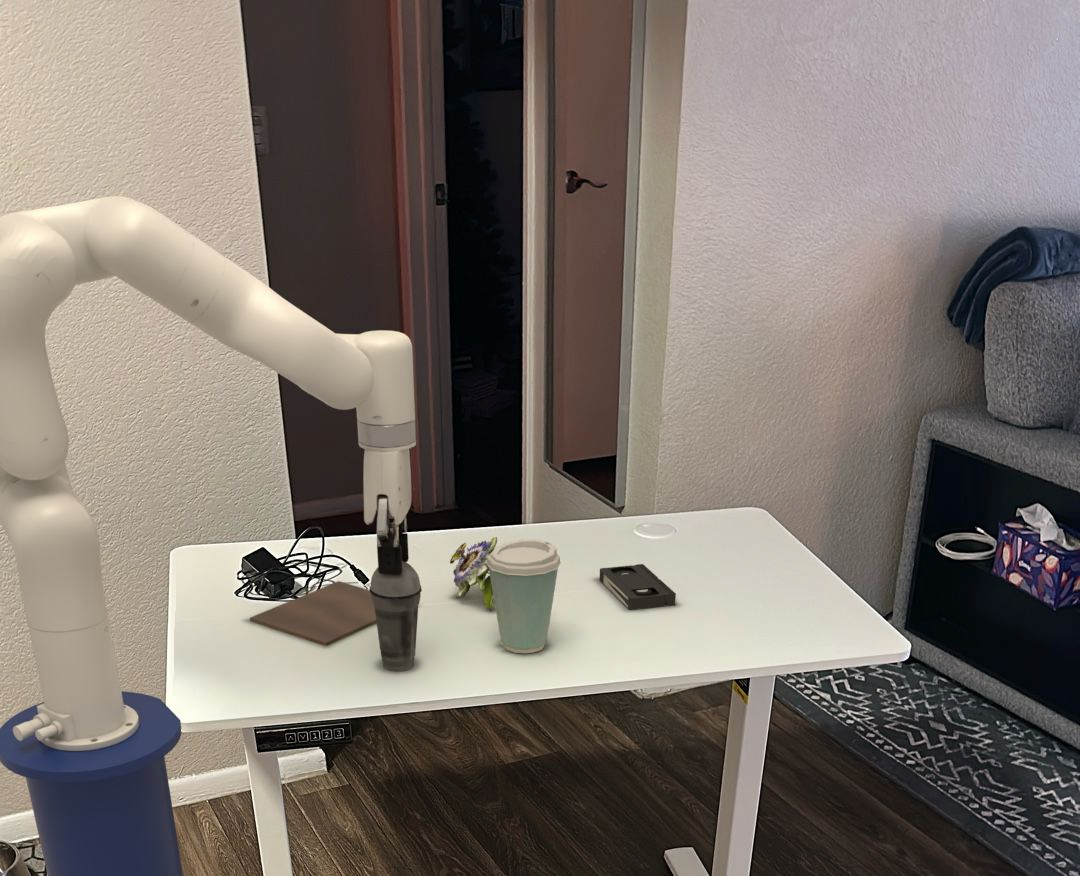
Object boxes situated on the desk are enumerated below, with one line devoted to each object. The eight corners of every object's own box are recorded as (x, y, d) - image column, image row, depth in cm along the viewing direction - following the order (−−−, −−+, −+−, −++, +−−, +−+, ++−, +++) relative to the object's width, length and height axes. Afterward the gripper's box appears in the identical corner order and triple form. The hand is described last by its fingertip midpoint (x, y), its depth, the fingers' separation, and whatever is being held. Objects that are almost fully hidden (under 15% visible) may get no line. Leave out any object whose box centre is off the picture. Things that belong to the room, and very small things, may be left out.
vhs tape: (598, 579, 215) (599, 568, 214) (642, 575, 217) (642, 563, 216) (629, 610, 204) (629, 598, 203) (674, 605, 206) (675, 593, 205)
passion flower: (462, 628, 210) (439, 559, 210) (524, 610, 212) (501, 541, 212) (470, 613, 199) (446, 540, 199) (535, 594, 201) (511, 521, 201)
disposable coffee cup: (512, 665, 185) (513, 565, 177) (473, 640, 192) (472, 543, 184) (572, 649, 190) (575, 552, 182) (531, 626, 197) (533, 531, 190)
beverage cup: (377, 677, 180) (371, 540, 170) (368, 656, 186) (362, 523, 176) (428, 672, 182) (425, 537, 172) (418, 652, 188) (414, 519, 177)
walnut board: (326, 646, 190) (325, 642, 189) (249, 620, 197) (249, 617, 197) (413, 606, 204) (412, 603, 203) (338, 583, 211) (338, 581, 211)
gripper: (371, 416, 174) (379, 546, 184) (344, 449, 160) (354, 588, 170) (426, 417, 174) (430, 548, 183) (403, 451, 159) (410, 590, 169)
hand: (393, 566), depth 176 cm, fingers closed on beverage cup, 4 cm apart
